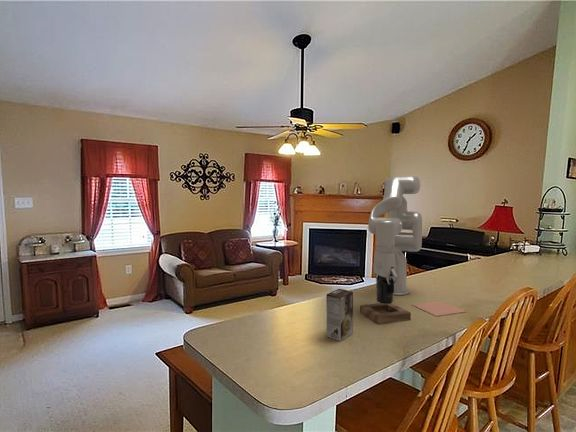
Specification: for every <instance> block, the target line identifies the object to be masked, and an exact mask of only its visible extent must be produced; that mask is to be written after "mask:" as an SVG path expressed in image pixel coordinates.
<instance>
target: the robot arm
mask: <svg viewBox="0 0 576 432" xmlns="http://www.w3.org/2000/svg"><path fill="white" fill-rule="evenodd" d="M383 184H384V185H383V186H384V193H383V199H382V200H381V201H379V202H378V203H377V204H376V205H375V206H374V207H373V208H372V209H371V211H370V214H369V218H368V225H367V226H368V231H369V233H371V234H372V235H375V240H376V241H375V253H374V257H373V258H374V259H373V273H374V275H375V280H376V281H375V282H376V283H375V284H376V289H377V280H378V279H380V278H379V276H381V277H384V278H386V279H387V283H388V284H387V288H386V293H387V294H390V293H393V296H407V295H409V294H410V290H409V289H408V288H407V258H406V255H405V254H404V253H403V252H419V251H421V249H422V246H423V245H422V244H423V217H422V215H421V213H420V212H419V211H408V200H407V199H406V197H405V196H404V195H416V194H418V193H419V192H420V189H421V181H420V179H419V177H418V176H413V175H408V176H407V175H405V176H402V175H400V176H398V175H397V176H391V177H388V178H386V179H385V180H384V183H383ZM387 213H389V217H381V216H382V215H384V214H387ZM403 231H405V232H403ZM406 231H412V232H406ZM389 275H391V276H389ZM389 278H391V280H389Z"/></svg>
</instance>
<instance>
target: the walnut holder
mask: <svg viewBox="0 0 576 432" xmlns="http://www.w3.org/2000/svg"><path fill="white" fill-rule="evenodd" d="M359 313H360V314H362V315H363V316H365V317H367V318H368V319H369V320H371V321H373V322H374V323H376V324H377V325H384V324H389V323H390V324H391V323H398V322H406V321H411V319H412V318H411V317H412V315H411V314H412V313H411V311H408V310H406V309H404V308H402V307H400V306H398V305H396V304H394V303H393V302H392V303H388V304H385V303H380V302H377V303H369V304H368V303H367V304H362V305H361V304H360V305H359Z"/></svg>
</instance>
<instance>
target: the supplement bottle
mask: <svg viewBox="0 0 576 432" xmlns="http://www.w3.org/2000/svg"><path fill="white" fill-rule="evenodd" d="M389 276H391V275H389ZM379 278H380V279H378V280H377V288H376V302H377V303H385V304H388V303H392V304H393V302H394V295H393V293H390V294H387V293H386V288H387V284H388V283H387V279H386V278H384V277H381V276H379ZM389 280H391V278H389Z"/></svg>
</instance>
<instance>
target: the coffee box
mask: <svg viewBox="0 0 576 432" xmlns="http://www.w3.org/2000/svg"><path fill="white" fill-rule="evenodd" d="M353 334H354V291H352V290H347V289H345V288H344V289H343V288H337V289H335V290H333V291H331V292H329V293H326V338H328V337H330V338H329V339H332V338H333V339H332V340H335V339H336V340H335V341H338V340H339V342H342V341H344V340H345V339H347V338H348V337H349V336H351V335H353Z"/></svg>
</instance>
